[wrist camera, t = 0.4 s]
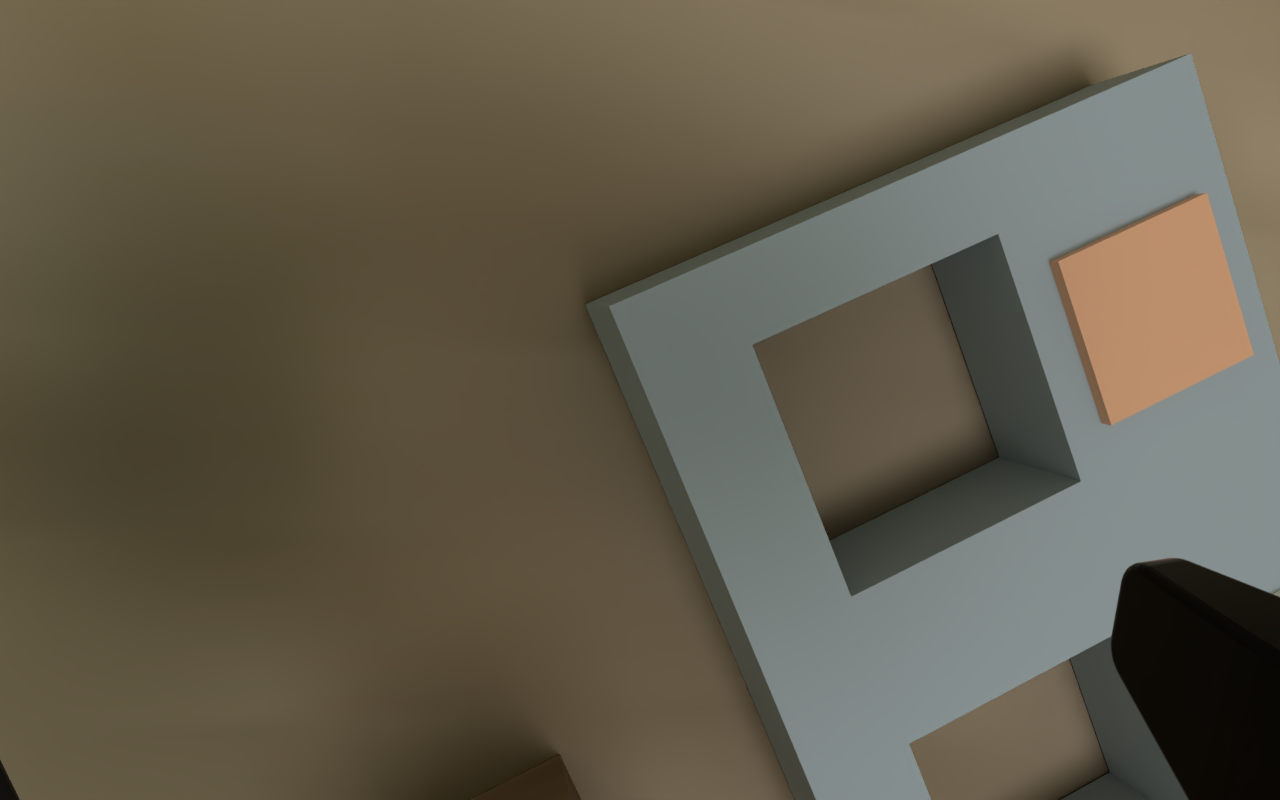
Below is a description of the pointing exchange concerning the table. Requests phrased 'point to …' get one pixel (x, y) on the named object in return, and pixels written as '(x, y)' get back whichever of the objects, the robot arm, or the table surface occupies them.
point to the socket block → (1017, 418)
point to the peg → (536, 784)
